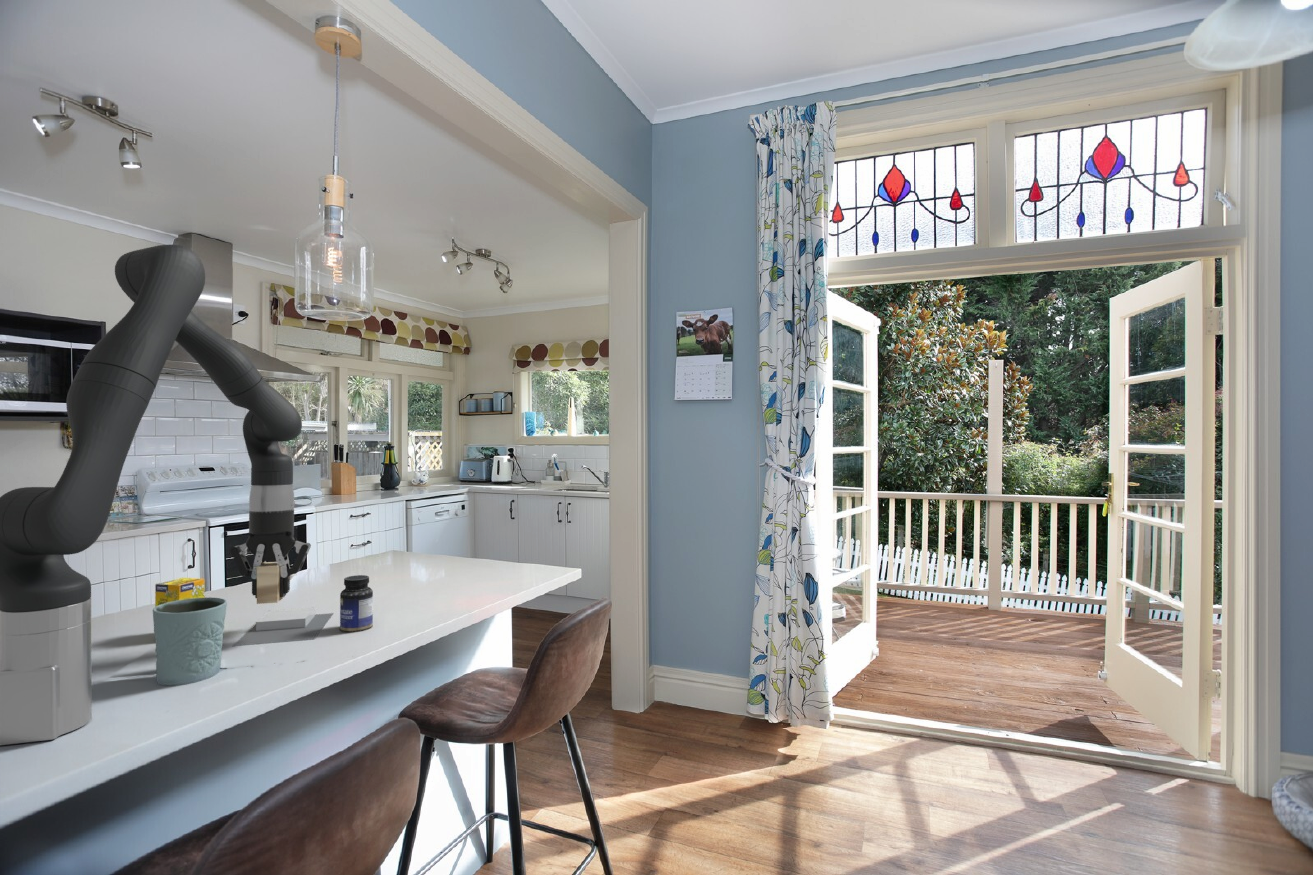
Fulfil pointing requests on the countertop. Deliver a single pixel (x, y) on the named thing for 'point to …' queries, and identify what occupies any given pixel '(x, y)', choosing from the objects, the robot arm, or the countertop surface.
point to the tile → (285, 619)
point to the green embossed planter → (188, 639)
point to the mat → (285, 633)
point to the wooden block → (269, 583)
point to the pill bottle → (356, 605)
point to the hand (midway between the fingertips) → (271, 596)
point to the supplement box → (179, 590)
